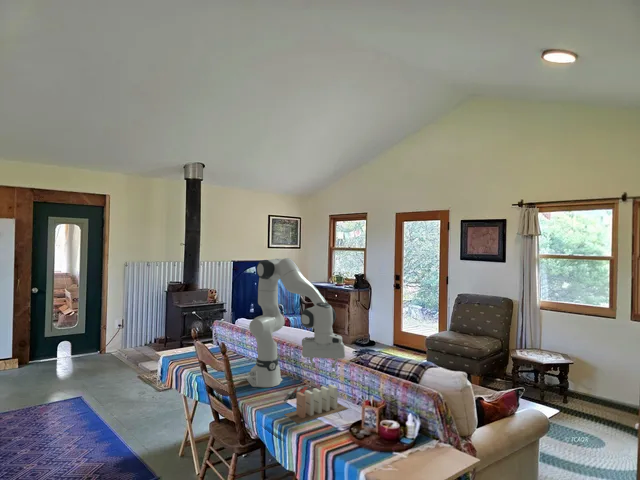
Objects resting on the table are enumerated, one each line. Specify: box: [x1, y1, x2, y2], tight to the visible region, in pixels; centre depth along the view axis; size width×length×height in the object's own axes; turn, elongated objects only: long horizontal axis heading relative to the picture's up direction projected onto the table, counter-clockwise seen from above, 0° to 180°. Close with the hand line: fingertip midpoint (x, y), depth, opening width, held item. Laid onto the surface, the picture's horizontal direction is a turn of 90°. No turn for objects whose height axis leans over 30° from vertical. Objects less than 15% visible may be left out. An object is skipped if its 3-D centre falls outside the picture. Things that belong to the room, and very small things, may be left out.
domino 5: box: [327, 384, 338, 409], centre depth 204 cm, size 2×5×10 cm, turn 34°
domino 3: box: [312, 387, 322, 413], centre depth 198 cm, size 2×5×10 cm, turn 35°
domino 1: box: [295, 392, 306, 418], centre depth 193 cm, size 2×5×10 cm, turn 35°
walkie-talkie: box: [283, 385, 310, 402], centre depth 220 cm, size 9×4×20 cm
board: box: [283, 402, 349, 425], centre depth 198 cm, size 12×28×1 cm, turn 125°
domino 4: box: [320, 386, 330, 411], centre depth 201 cm, size 2×5×10 cm, turn 35°
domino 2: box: [305, 389, 314, 416], centre depth 196 cm, size 2×5×10 cm, turn 34°
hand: (323, 367), depth 200 cm, fingers open, 8 cm apart
